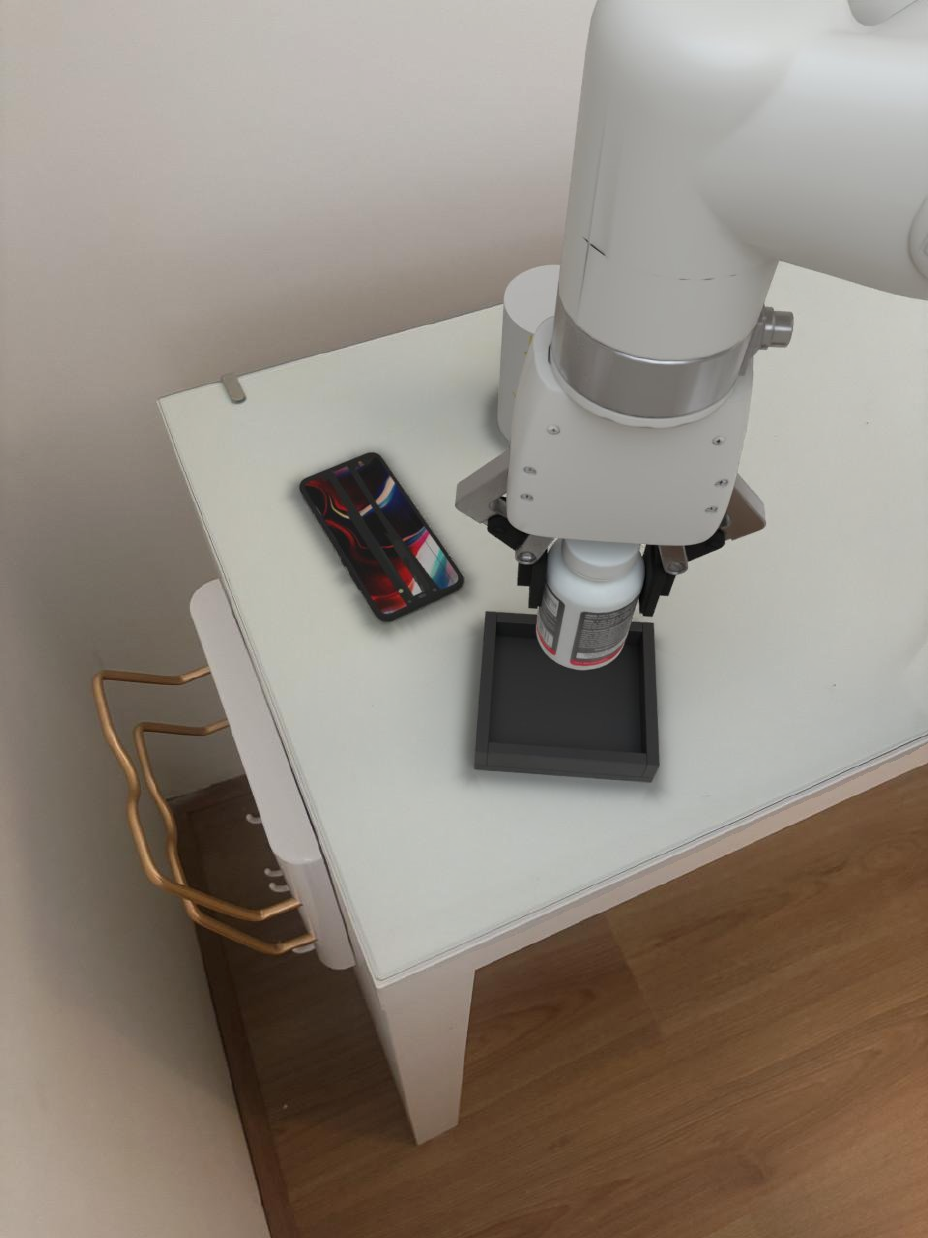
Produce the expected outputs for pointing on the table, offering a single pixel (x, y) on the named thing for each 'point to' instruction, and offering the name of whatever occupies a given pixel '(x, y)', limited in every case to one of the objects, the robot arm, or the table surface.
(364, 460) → the smartphone
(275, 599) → the table surface
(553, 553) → the pill bottle
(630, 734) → the tray
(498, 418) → the cup
